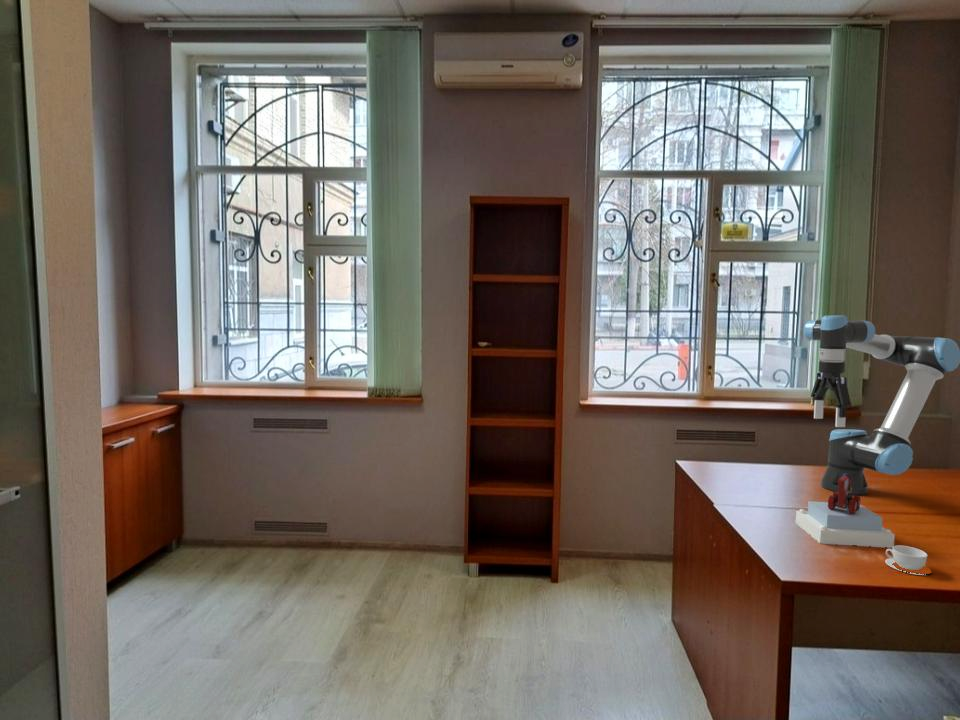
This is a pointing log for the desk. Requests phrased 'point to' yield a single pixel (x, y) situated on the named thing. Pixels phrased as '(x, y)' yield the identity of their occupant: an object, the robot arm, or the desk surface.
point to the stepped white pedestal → (844, 526)
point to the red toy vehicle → (844, 496)
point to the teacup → (906, 558)
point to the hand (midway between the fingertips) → (828, 422)
